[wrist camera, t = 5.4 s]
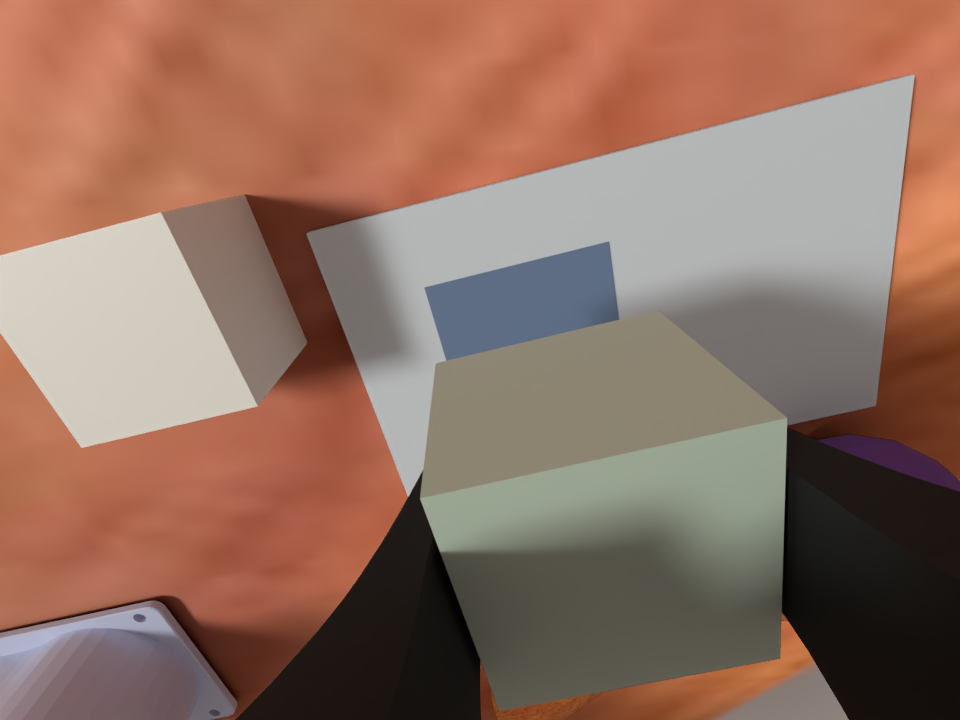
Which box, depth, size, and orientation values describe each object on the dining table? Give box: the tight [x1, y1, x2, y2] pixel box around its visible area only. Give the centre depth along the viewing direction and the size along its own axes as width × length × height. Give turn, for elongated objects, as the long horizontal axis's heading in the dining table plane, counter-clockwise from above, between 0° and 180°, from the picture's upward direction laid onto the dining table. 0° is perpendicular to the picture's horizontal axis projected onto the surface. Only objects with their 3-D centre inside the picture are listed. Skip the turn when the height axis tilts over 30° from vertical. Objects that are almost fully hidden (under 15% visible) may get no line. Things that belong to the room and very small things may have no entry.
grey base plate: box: [306, 74, 915, 497], centre depth 16 cm, size 18×11×1 cm, turn 104°
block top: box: [0, 194, 307, 448], centre depth 14 cm, size 5×5×4 cm
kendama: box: [490, 434, 960, 720], centre depth 19 cm, size 6×6×20 cm
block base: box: [420, 311, 787, 711], centre depth 9 cm, size 5×5×4 cm
